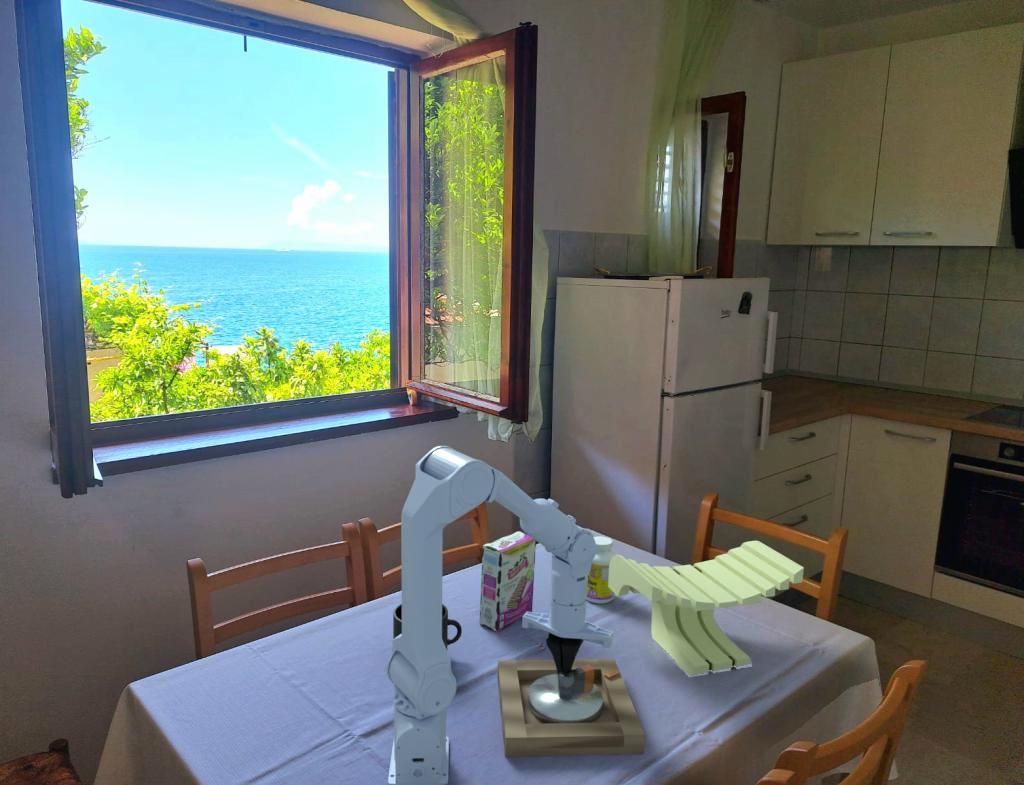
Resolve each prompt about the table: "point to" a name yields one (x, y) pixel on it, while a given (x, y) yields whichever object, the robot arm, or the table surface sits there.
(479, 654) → the table surface
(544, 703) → the dial
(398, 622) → the mug
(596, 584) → the supplement bottle
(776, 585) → the slatted curved stool
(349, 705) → the table surface
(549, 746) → the board
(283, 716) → the table surface
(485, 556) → the candy bar box
